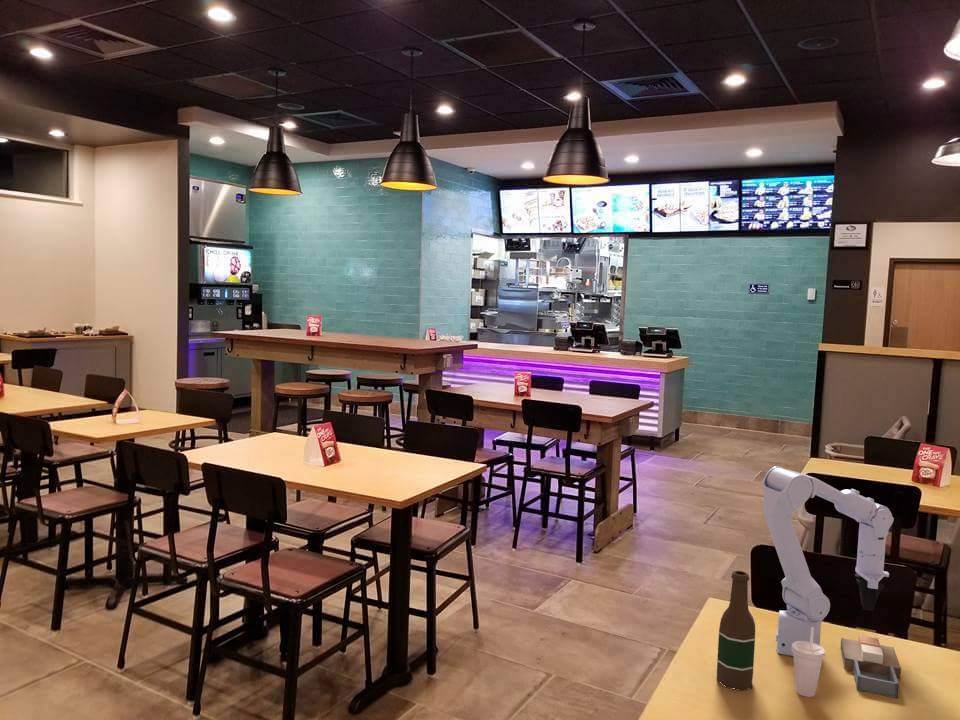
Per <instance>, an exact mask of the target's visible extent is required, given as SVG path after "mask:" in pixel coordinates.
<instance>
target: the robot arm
mask: <svg viewBox="0 0 960 720" xmlns="http://www.w3.org/2000/svg"><path fill="white" fill-rule="evenodd" d="M761 486H762V489H763V491H764V494H763V504H762V505H763V506H762V513H763V517H764V520H765V522H766V525H767V528H768V531H769V534H770V536H771V539H772V542H773V546H774V548H775V550H776V553H777V557H778V559H779V563H780V565H781V568H782V571H783V574H784V576H785V577H784V578H782V580H781V581H780V583H781V586H782V592H781V597H782V599H783V601H784V603H785V604H786V610H779V611H778V621H777V622H778V623H777V632H776V633H775V641H776V642H777V644H776V649H777V650H776V652H777V654H781V655H785V656H790V657H793V651H792V649H791V648H792V644H793V643H794V642H796V641H807V642H810V635H811V627H813V628H814V634H813V643H815V644H817V645H819V646H821V635H822V633H821V632H822V631H821V630H822V621H824V619H825V618H826V617H827V615H828V614H829V612H830V610H831V609H830V608H831V602H830V599H829V597H827V596H826V595H825V594H824V593H823V590H822V588H821V586H820V585H819V584H818V583H817V581H816V580H815V579H814V578H813V577H812V575H811V573H810V570H809V566H808V563H807V561H806V557H805V555H804V552H803V549H802V546H801V543H800V540H799V537H798V535H797V531H796V529H795V525H794V523H793V521H792V516H793V515H794V514H796V512H797V511H798V510H799V509H800V508H801V507H802V506H804V504H805V503H806V502H807V501H808V500H809V499H813V498H814V497H815V496H816V497H819V498H822V499H824V500H826V501H829V502H831V503H832V504H834V508H835V510H836V511H837V512H839V513H840V514H843V515H846V516H847V517H849V518H850V519H851V518H852V519H853V520H855V521H856V522H857V523H859V525H858V526H859V527H858V538H857V540H858V541H857V542H858V543H857V554H856V555H857V556H856V565H855V568H854V569H855V570H854V571H855V574H854V576H855V579H856V582H857V585H858V587H859V588H858V589H859V596H860V603H861V607H862V610H864V611H871V612H873V611H874V609H875V606H876V602H877V600H878V597H879V595H880V593H881V592H882V591H883V590H884V587H885V586H884V583H882V581H883V578H884V577H886V578H889V577H890V573H889V571H885V570H884V568H885V556H886V554H885V553H886V541H887V540H886V539H887V537H888V535H889V530H890V528H891V527H892V525H893V523H894V519H895V518H894V517H893V514H892V512H891V511H890V508H888V506H885V505H882V504H879V503H877V502H875V499H874V498H871V497H865V496H863V495H861V494H860V491H859V490H858V489H857V490H856V489H854V488H851V489H842V490H838V489H837V488H835V487H833V486H832V485H830V484H828V483H826V482H824V481H822V480H821V479H818V478H816V477H813V476H811V475H807V474H804V473H800V472H798V471H794V470H791V469H785V467H781V466H773V467H771V468H770V469H769V470H767V472H766V473H765V475H764V477H763V479H762V481H761Z"/></svg>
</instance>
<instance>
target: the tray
mask: <svg viewBox="0 0 960 720" xmlns="http://www.w3.org/2000/svg"><path fill="white" fill-rule="evenodd" d="M852 673H853V677H854V678H853V679H854V682H855V683H854V684H855V688H856V691H859V692H865V693H866V692H867V693H870V694H876V695H879V696H886V697H890V698H895V699H898V698H899V688H900V687H899V685H900V683H899V679H897V677H896V674H895V671H894V668H893V665H891V664H889V676H885V675H880V674H875V673H870V672H864V671H860V670H859V666H858V661H857V658H854V661H853V670H852Z"/></svg>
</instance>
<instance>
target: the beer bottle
mask: <svg viewBox="0 0 960 720" xmlns="http://www.w3.org/2000/svg"><path fill="white" fill-rule="evenodd" d="M730 577H731V579H732V582H731V592H730V598H729V605H728V607H727V608H726V609H725V610H724V612H723V614H722V616H721V618H720V622H719V628H718V629H719V630H718V641H717V642H718V643H717V662H716V664H717V665H716V681H717V680H718V681H719V682H721V683H722V684H723V685H725V686H726V687H729V688H728V689H730V688H735V689H739V690H741V691H745V690H744V689H746V690H749V689H748V688H750V689H752V687H753V686H752V685H753V677H754V663H755V649H756V648H755V645H756V623H755V619H754V616H753V615H752V613H751V611H750V610H749V600H748V599H749V598H748V597H749V595H748V594H749V593H748V592H749V590H748V588H749V586H748V583H749V582H748V581H750V575H749V573H748V572H746V571H742V570H734V571H732V573H731V576H730ZM718 681H717V682H718ZM719 682H718V683H719ZM721 683H720V684H721ZM722 684H721V685H722ZM723 685H722V686H723ZM725 686H724V687H725ZM726 687H725V688H726ZM735 689H734V690H735ZM739 690H738V691H739Z"/></svg>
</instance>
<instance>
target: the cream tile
mask: <svg viewBox="0 0 960 720" xmlns="http://www.w3.org/2000/svg"><path fill="white" fill-rule="evenodd" d="M860 653H861V657H862V660H863V661H869V662H874V663H879V664H883V653H882V650H881V648H880V647H874V646H869V645H863V644H861V652H860Z"/></svg>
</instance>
